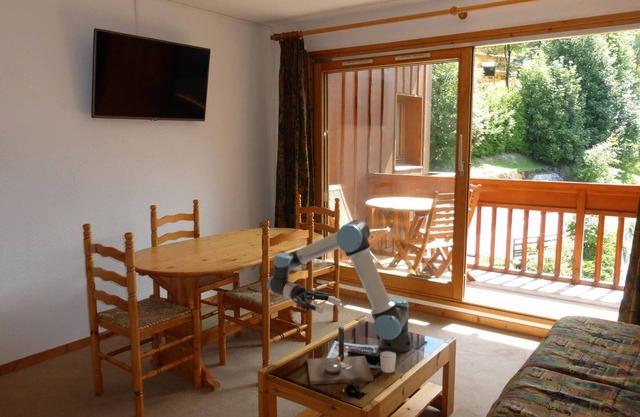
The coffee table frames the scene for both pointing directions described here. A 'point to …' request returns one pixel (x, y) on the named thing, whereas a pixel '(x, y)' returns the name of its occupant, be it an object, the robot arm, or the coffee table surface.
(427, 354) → the coffee table surface
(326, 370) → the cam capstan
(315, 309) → the robot arm
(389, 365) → the shot glass
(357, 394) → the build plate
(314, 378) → the crank stand
